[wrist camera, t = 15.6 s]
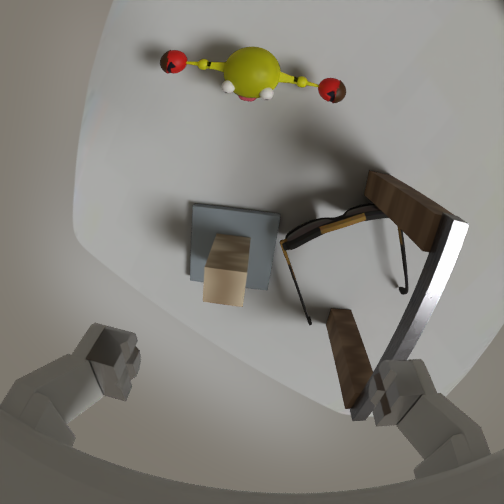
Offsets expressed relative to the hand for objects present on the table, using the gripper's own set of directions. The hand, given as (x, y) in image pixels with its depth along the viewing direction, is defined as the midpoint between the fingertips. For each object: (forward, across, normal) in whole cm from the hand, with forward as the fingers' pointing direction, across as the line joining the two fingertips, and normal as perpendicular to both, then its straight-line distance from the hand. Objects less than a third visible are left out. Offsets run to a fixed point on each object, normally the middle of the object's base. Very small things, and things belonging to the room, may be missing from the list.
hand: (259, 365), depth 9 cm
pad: (+26, +3, +9) cm, 28 cm away
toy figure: (+27, +3, -11) cm, 29 cm away
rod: (+12, -13, +8) cm, 20 cm away
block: (+25, +3, +9) cm, 27 cm away
